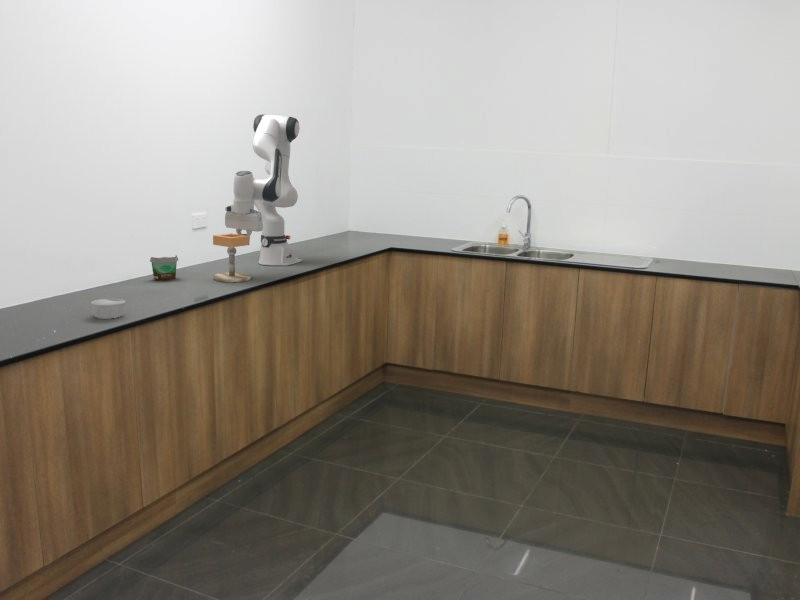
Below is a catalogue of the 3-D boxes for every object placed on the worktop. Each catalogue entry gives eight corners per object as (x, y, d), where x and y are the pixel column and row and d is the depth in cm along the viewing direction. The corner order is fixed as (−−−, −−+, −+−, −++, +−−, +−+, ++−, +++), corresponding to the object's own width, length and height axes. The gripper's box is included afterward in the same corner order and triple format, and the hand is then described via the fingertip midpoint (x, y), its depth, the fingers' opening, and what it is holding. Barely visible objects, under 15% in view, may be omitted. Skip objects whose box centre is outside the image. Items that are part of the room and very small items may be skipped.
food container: (156, 282, 332) (155, 259, 330) (150, 279, 336) (149, 256, 334) (183, 279, 340) (183, 256, 337) (177, 277, 344) (177, 254, 342)
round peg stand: (232, 274, 355) (232, 242, 352) (258, 278, 346) (258, 246, 343) (205, 279, 342) (205, 246, 339) (231, 284, 333) (231, 250, 330)
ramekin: (130, 313, 278) (129, 298, 276) (119, 320, 267) (119, 305, 266) (98, 312, 277) (97, 297, 276) (86, 319, 266) (86, 304, 265)
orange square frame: (231, 247, 333) (231, 238, 332) (213, 244, 339) (213, 235, 338) (256, 244, 345) (256, 235, 344) (238, 241, 351) (238, 232, 350)
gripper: (266, 210, 340) (266, 241, 343) (232, 206, 352) (233, 236, 354) (255, 210, 335) (255, 242, 338) (222, 207, 346) (222, 238, 349)
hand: (244, 239), depth 346 cm, fingers closed on orange square frame, 3 cm apart
